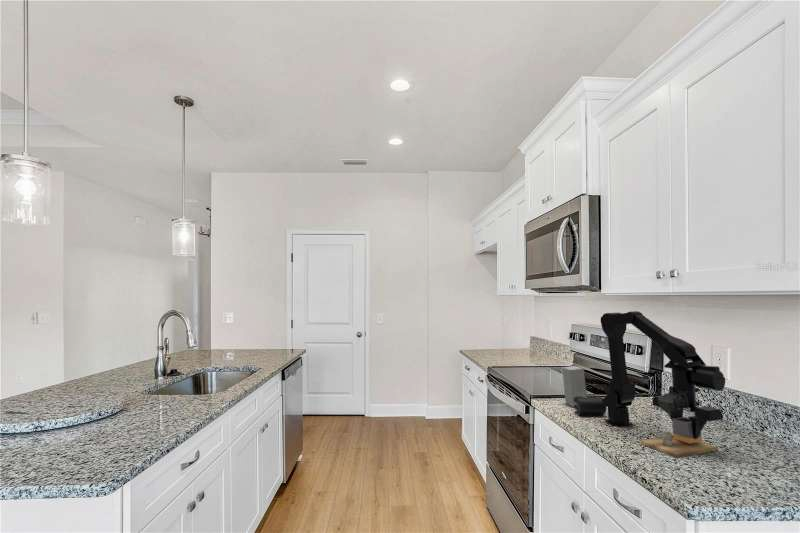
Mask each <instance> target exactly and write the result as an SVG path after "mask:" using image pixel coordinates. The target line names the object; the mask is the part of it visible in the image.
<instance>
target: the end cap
mask: <svg viewBox="0 0 800 533" xmlns="http://www.w3.org/2000/svg"><path fill="white" fill-rule="evenodd" d="M603 398H604V397H601V396H600V397H598V396H595V395H593V396H588V397H587V398H583V397H574V402H576V403H577V406H576V405H574V407H573V408H574V410H575V412H574V414H576V415H578V416H604V415H605V414H606V413H607V411H608V407H607V406H604V405H603V402H602V399H603Z"/></svg>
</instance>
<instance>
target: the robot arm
mask: <svg viewBox="0 0 800 533" xmlns="http://www.w3.org/2000/svg"><path fill="white" fill-rule="evenodd" d="M600 324H601V325H600V326H601V328H602V331H603V333H604V334H605V336H606V337H607V343H608V351H609V360H610V370H611V371H610V372H611V379H610V382H609V383H608V389H607V390H608V391H607V392H608V393H607V394H606V395H605V396H604V397H602V398H603V399H602V402H603V405H604V406H606V407H607V419H604V422H606V423H609V424H611V425H613V426H616V427H624V426H625V427H626V426H631V425H633V422H631V421H630V412H629V408H628V406H632V404H633V401H634V400H635V398H636V395H637V390H636V384H635V382H631V380H630V379H629V378H628V371H627V362H626V353H625V351H626V350H625V344H624V335H625V333H626V331H627V327H628V326H627V325H630V324H631V325H632V326H634V327H635V328H636V329H637V330H638V331H640V332H641V333H642V334H644V335H645V336H646V337H648V338H649V339H651V341H653V343H656V345H658V346H659V347H660V350H661V352H662V353H663V355H664V356H665V357H667V358H668V359H669V361H668V362H667V363H666V364H664V365H663V367H664V368H666V369H667V368H668V369H670V370H671V379H672V380H671V381H672V386H669V388H668V393H664V394H663V395H654V396H653V399H652V406H654V407H658V408H660V410H662V411H663V412H664V413H666V414H667V415H668V416H669V417H670V420H671V421H672V418H680V417H684V411H687V412H690V413H693V415H691V416H688V418H689V419H690V420H691V421H692V429H693V437H694V439H698V437H699V435H700V433H701V434H702V431H703V429H704V427H705V425H706V424H707V422H712V421H713V422H714V421H721V420H724V416H723V411H722V410H720V408H715V407H712V406H709V405H708V406H701V405H700V401H697V396H696V395H697V394H696V393H699V388H701V389H706V390H710V391H711V390H713V391H716V392H721V391H723V390H724V388H725V386H726V378H725V376H724V374H723V372H722V371H721V370H720V366H716V365H713V366H712V365H707V364H706V363H705V362H704V361H703V359H702V358H701V357H700V355H699V354H698V353H697V350H696V348H695V346H694V345H693V344H691V343H689V342H688V341H685V340H684V339H681V338H678V337H675V336H673V335H671V334H669V333H668V332H666V330H664V329H662V327H660V326H658V325H657V324H656V323H654V322H653V321H652V320H650V318H647V317H646V316H645V315H643V312H640V311H637V310H634V311H628V312H623V313H622V312H606V313H603V314H602V316H600ZM698 406H701V407H698Z"/></svg>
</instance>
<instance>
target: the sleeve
mask: <svg viewBox="0 0 800 533" xmlns="http://www.w3.org/2000/svg"><path fill="white" fill-rule="evenodd" d="M671 423H672V432H673V434H672V435H673V437H674V439H677V440H680V441H683V442H685V443H688V444H691V443H697V442H703V441H702V432H701V433H700V435H699V437H698V439H694V437H693V429H692V421H691V420H690V419H689V417H686V416H683V417H680V418H672V420H671Z"/></svg>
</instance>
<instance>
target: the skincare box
mask: <svg viewBox="0 0 800 533" xmlns="http://www.w3.org/2000/svg"><path fill="white" fill-rule="evenodd" d="M561 370H562V379H563V388H564V397H565V403H566V404H567V405H569V406H571V407H572V408H574V405H576V406H577V403H576V402H574V397H583V398H588V393H587V387H586V379H585V368H582V367H579V366H576V365H575V366H574V365H573V366H562V367H561Z"/></svg>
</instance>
